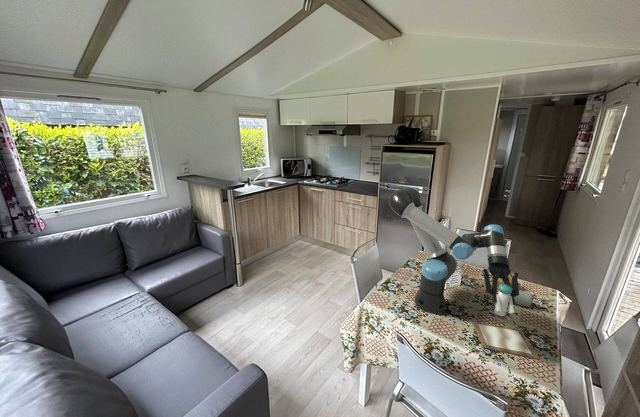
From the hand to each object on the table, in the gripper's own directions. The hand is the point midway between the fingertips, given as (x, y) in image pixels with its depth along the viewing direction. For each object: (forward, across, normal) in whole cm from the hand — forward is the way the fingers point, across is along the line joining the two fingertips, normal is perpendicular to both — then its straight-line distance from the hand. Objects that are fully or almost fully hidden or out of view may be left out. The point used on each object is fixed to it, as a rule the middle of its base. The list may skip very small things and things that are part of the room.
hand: (505, 311), depth 104 cm
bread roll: (-25, -22, -49) cm, 59 cm away
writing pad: (+9, -3, -14) cm, 17 cm away
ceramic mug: (-14, -22, -38) cm, 46 cm away
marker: (+1, 0, -6) cm, 6 cm away
